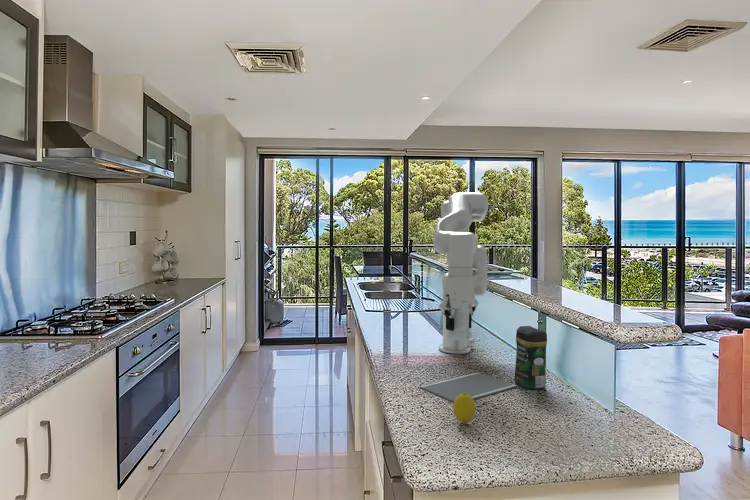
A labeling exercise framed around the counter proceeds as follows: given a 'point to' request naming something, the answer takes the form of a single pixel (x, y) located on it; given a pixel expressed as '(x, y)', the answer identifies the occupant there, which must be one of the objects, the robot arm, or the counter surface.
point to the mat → (468, 386)
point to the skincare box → (460, 323)
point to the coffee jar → (530, 357)
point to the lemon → (464, 407)
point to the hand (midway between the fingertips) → (458, 328)
